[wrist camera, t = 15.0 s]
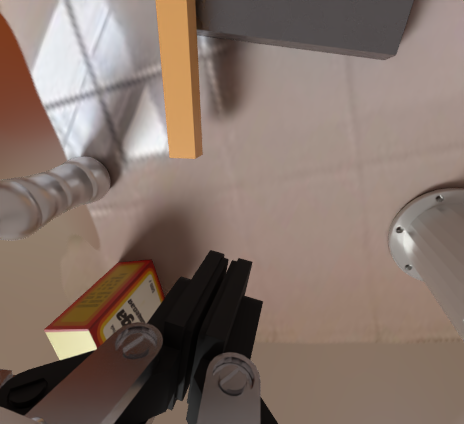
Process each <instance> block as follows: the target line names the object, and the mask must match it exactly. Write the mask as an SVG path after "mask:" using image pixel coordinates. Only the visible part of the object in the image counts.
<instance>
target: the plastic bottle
mask: <svg viewBox="0 0 464 424" xmlns="http://www.w3.org/2000/svg"><path fill="white" fill-rule="evenodd" d="M109 188H110V176H109V173H108V171H107V169H106V168H105V166H104V165H103V164H102V163H100V162H99V161H97V160H96V159H94V158H91V157H75V158H73V159H70V160H68V161H66V162H65V163H63V164H62V165H60V166H58V167H56V168H53V169H51V170H49V171H46V172H43V173H39V174H34V175H30V176H26V177H19V178H11V179H3V180H0V239H1V240H19V239H24V238H26V237H29V236H30V235H32V234H34V233H35V232H36V231H38V230H39V229H40V228H42V227H43V226H44V225H46V224H47V223H48V222H50V221H51V220H53V219H54V218H56V217H58V216H59V215H61V214H62V213H65V212H66V211H68V210H70V209H73V208H75V207H78V206H80V205H84V204H89V203H93V202H96V201H98V200H100V199H101V198H102V197H104V196H105V195H106V194H107V192H108V191H109Z"/></svg>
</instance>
